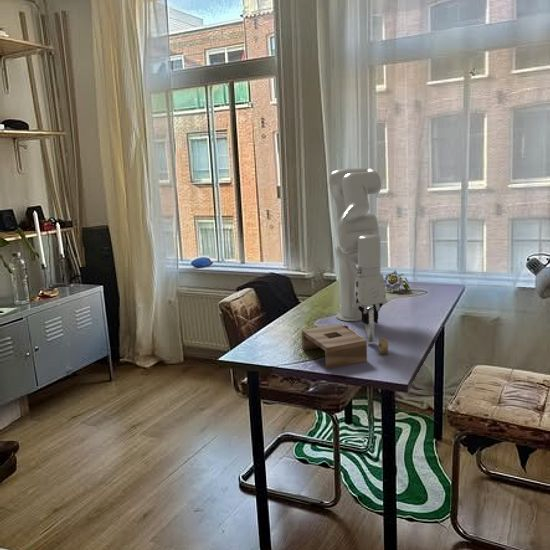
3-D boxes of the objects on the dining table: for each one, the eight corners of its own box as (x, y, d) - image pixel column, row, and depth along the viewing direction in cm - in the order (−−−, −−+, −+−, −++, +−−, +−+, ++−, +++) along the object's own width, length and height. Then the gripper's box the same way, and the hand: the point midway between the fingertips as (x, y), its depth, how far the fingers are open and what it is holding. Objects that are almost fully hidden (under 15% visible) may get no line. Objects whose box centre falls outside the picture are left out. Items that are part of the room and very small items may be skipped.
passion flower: (392, 303, 255) (377, 284, 254) (395, 293, 264) (380, 275, 263) (411, 292, 249) (396, 272, 248) (414, 282, 258) (399, 263, 257)
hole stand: (302, 349, 184) (301, 330, 183) (338, 342, 189) (337, 323, 187) (327, 368, 166) (326, 347, 164) (366, 361, 170) (366, 340, 169)
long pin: (364, 339, 187) (363, 307, 184) (371, 338, 188) (371, 306, 185) (368, 342, 184) (368, 309, 181) (376, 341, 185) (375, 308, 182)
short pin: (377, 353, 177) (376, 339, 176) (384, 351, 178) (384, 337, 177) (381, 356, 174) (381, 341, 173) (389, 354, 175) (389, 340, 174)
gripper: (353, 276, 174) (354, 329, 178) (396, 270, 179) (396, 322, 183) (342, 272, 181) (344, 323, 185) (384, 266, 186) (384, 316, 190)
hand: (369, 322), depth 184 cm, fingers closed on long pin, 3 cm apart
